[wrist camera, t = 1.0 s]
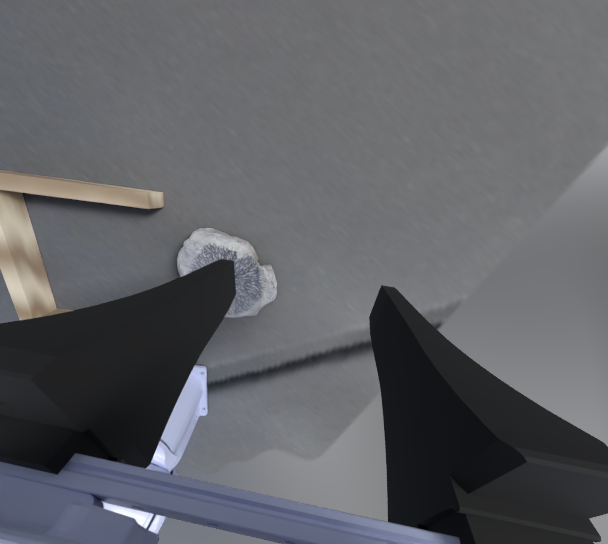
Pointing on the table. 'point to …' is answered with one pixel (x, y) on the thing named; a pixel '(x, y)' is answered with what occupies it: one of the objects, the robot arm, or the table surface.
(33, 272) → the bay
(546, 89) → the table surface
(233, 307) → the fossil
